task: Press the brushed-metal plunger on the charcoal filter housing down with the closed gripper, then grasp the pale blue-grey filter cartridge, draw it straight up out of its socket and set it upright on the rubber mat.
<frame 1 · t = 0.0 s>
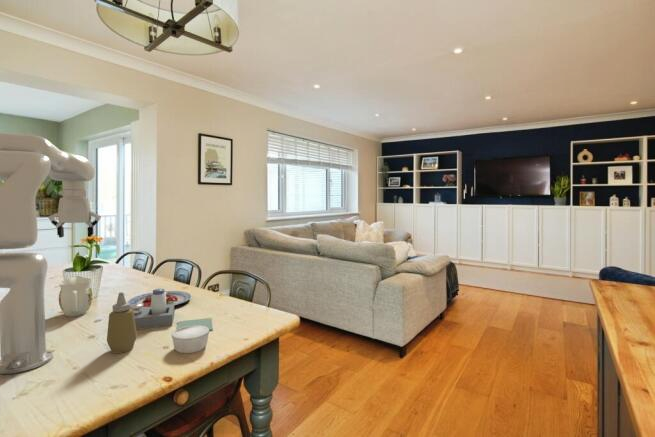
hand: (75, 236, 136), 31 cm above the table, tool pointing down, fingers open, 9 cm apart
cartridge: (159, 321, 129), resting in housing
housing: (150, 322, 128), on the table
ceramic plate: (160, 303, 152), on the table
plunger: (136, 311, 126), point 5 cm above the table, slide at 0.0 cm
ramekin: (190, 348, 107), on the table
squeeze bottle: (122, 350, 105), on the table
mat: (195, 326, 125), on the table
pitcher: (76, 314, 136), on the table
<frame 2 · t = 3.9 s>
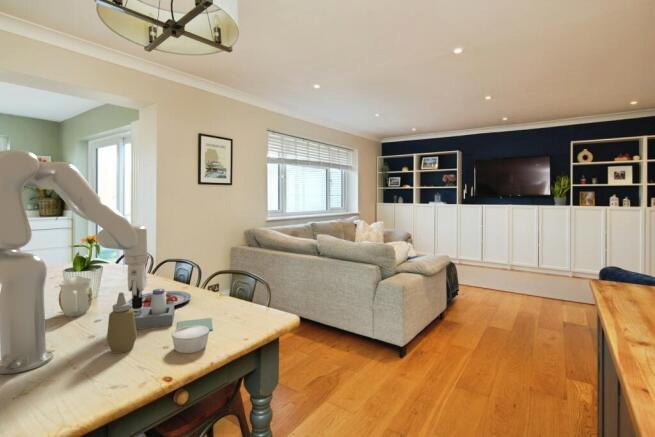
hand: (137, 307, 127), 6 cm above the table, tool pointing down, fingers closed
plunger: (136, 313, 126), point 4 cm above the table, slide at 1.0 cm, touching gripper
everything else where it was.
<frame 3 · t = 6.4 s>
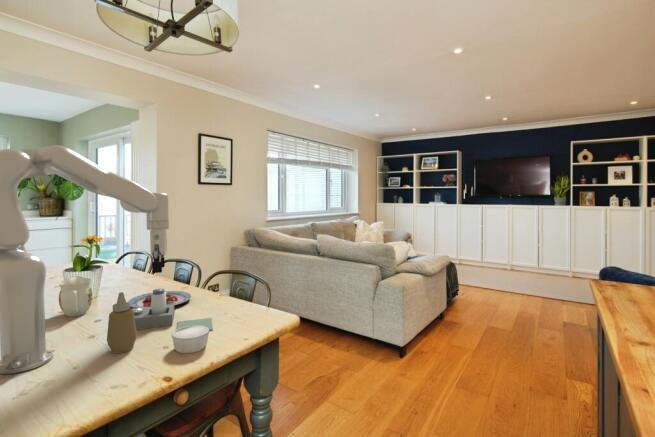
hand: (158, 269, 128), 20 cm above the table, tool pointing down, fingers open, 9 cm apart
plunger: (136, 315, 126), point 3 cm above the table, slide at 1.6 cm
everything else where it was.
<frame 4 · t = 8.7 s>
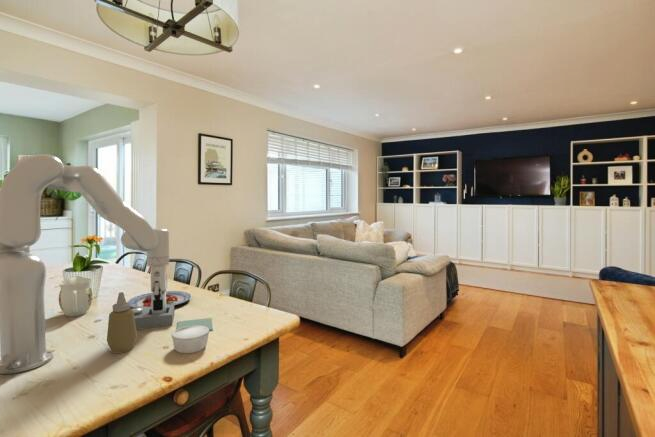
hand: (158, 307, 129), 5 cm above the table, tool pointing down, fingers closed on cartridge, 5 cm apart
cartridge: (159, 321, 129), resting in housing, touching gripper
everything else where it was.
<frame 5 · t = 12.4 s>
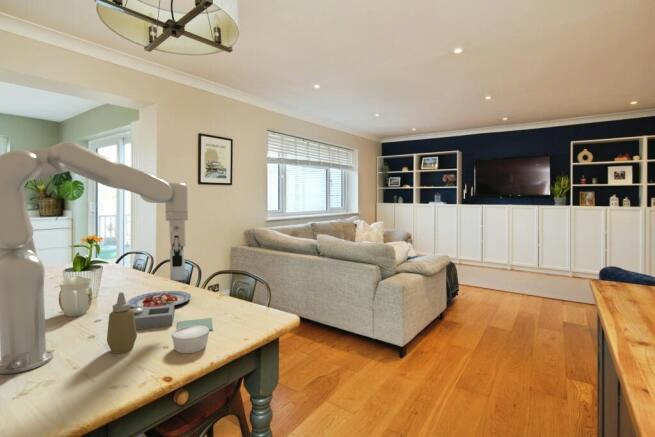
hand: (177, 264, 126), 23 cm above the table, tool pointing down, fingers closed on cartridge, 5 cm apart
cartridge: (177, 278, 126), point 17 cm above the table, touching gripper
everything else where it was.
when the fingers open (7 cm above the table, at t = 16.2 s): cartridge drops 1 cm, resting on mat.
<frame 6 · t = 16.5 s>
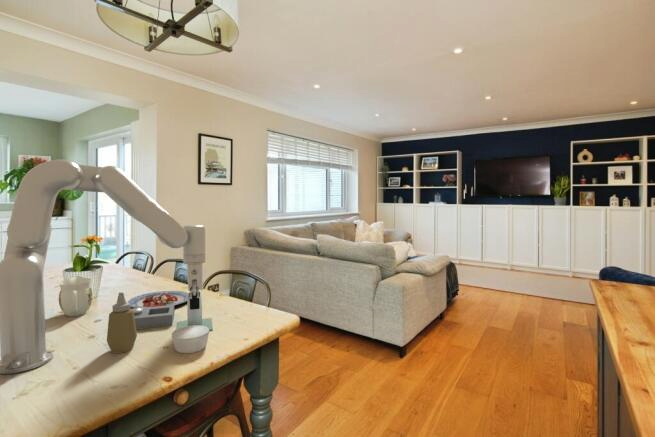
hand: (194, 305, 124), 8 cm above the table, tool pointing down, fingers open, 8 cm apart
cartridge: (194, 325, 125), point 1 cm above the table, touching mat
everything else where it was.
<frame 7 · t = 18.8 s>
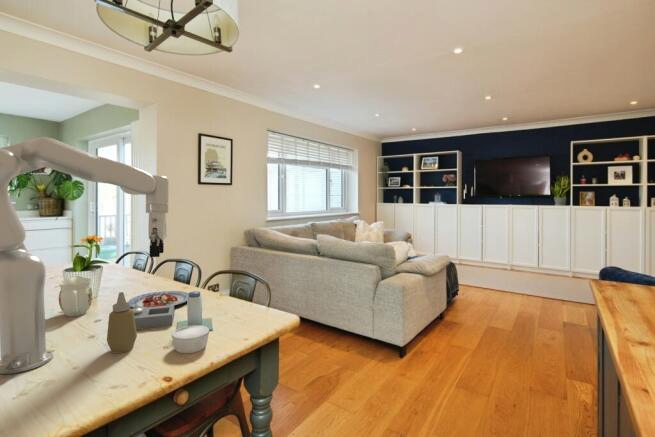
hand: (156, 254, 125), 26 cm above the table, tool pointing down, fingers open, 9 cm apart
nothing on the table moved.
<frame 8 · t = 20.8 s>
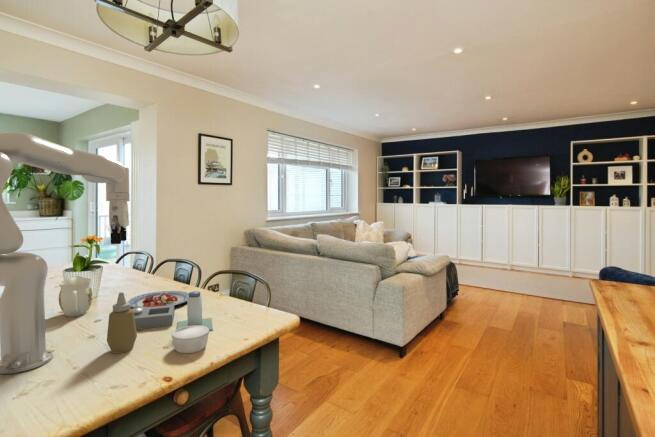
hand: (118, 242, 128), 30 cm above the table, tool pointing down, fingers open, 9 cm apart
nothing on the table moved.
at the end: plunger slide at 1.6 cm; cartridge inside the target area on the mat (0.1 cm from its centre), point 0.5 cm above the mat's base; cartridge tilted 0° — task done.
